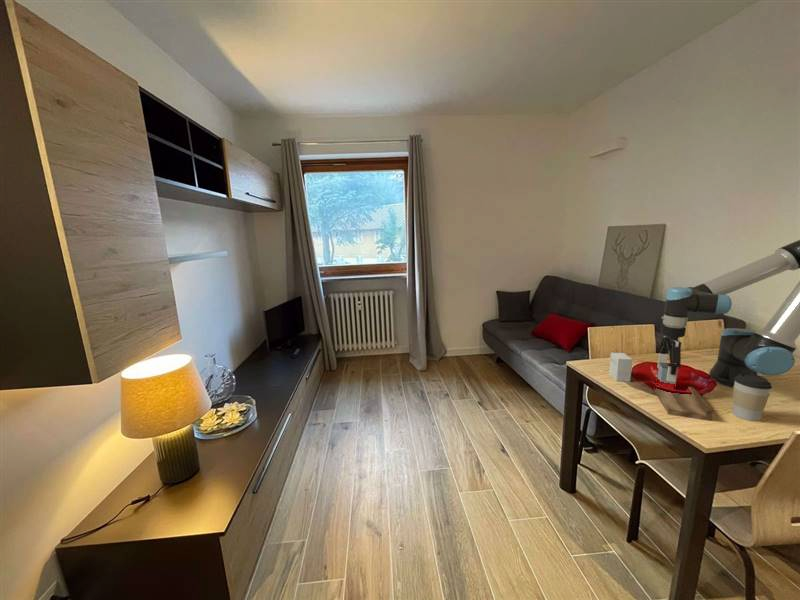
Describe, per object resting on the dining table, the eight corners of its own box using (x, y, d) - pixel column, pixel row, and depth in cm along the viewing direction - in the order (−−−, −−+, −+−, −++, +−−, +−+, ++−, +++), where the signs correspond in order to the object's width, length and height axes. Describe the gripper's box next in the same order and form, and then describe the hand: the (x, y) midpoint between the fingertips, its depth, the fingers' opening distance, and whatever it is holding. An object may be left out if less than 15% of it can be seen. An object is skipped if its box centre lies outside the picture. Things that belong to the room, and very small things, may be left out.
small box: (630, 382, 144) (632, 359, 142) (615, 381, 145) (618, 358, 143) (622, 374, 151) (624, 352, 149) (608, 373, 153) (610, 352, 150)
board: (691, 396, 131) (693, 387, 130) (711, 421, 114) (713, 411, 113) (654, 390, 136) (655, 382, 135) (668, 414, 119) (669, 404, 118)
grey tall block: (670, 385, 140) (674, 363, 138) (674, 390, 136) (677, 368, 134) (653, 382, 143) (656, 361, 141) (656, 387, 138) (659, 366, 136)
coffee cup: (763, 415, 116) (771, 375, 113) (766, 426, 110) (775, 384, 107) (727, 406, 122) (734, 368, 119) (728, 417, 116) (736, 377, 113)
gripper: (654, 317, 146) (647, 362, 150) (671, 333, 124) (663, 385, 128) (675, 318, 143) (668, 364, 147) (697, 335, 121) (687, 389, 125)
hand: (665, 374), depth 138 cm, fingers open, 13 cm apart
